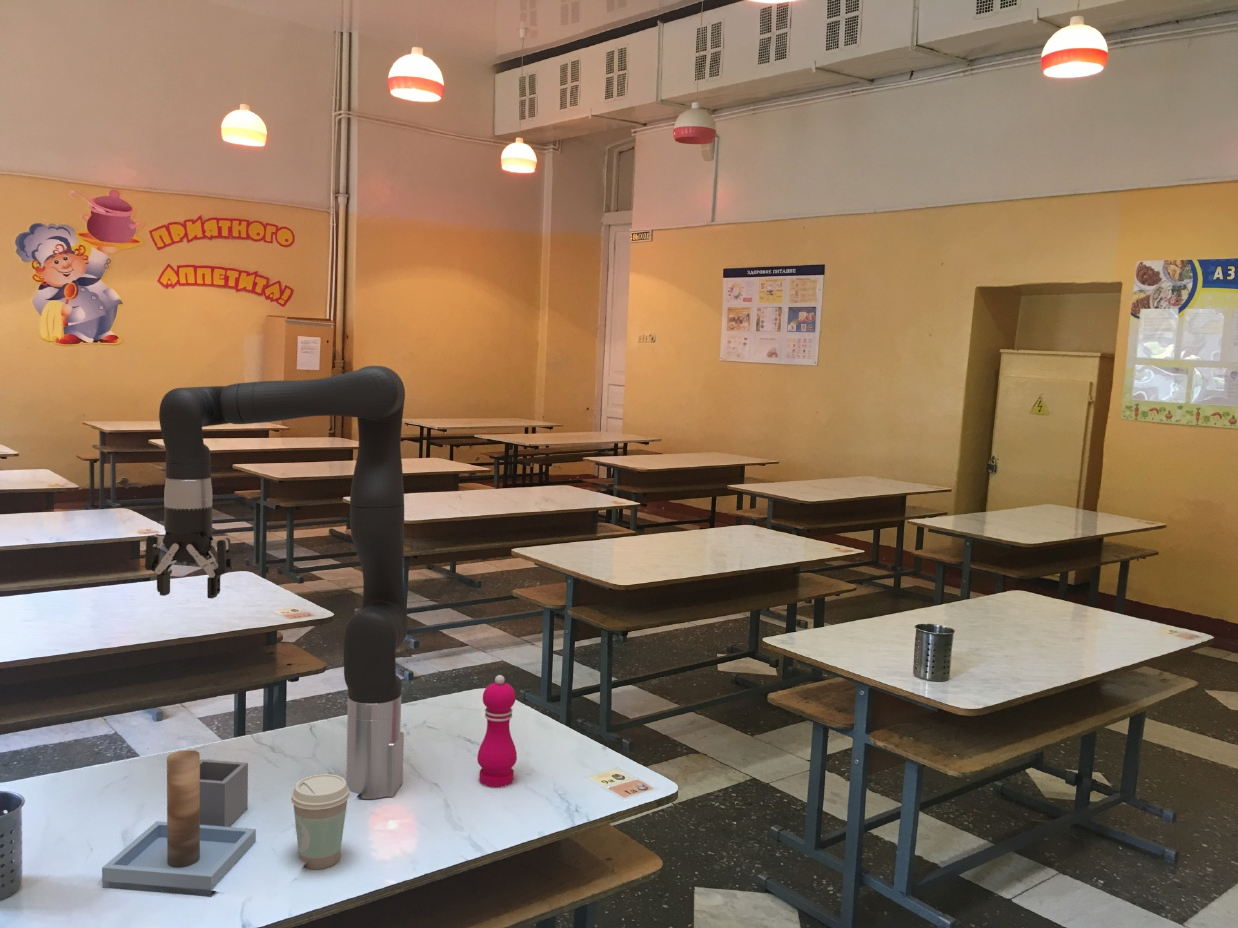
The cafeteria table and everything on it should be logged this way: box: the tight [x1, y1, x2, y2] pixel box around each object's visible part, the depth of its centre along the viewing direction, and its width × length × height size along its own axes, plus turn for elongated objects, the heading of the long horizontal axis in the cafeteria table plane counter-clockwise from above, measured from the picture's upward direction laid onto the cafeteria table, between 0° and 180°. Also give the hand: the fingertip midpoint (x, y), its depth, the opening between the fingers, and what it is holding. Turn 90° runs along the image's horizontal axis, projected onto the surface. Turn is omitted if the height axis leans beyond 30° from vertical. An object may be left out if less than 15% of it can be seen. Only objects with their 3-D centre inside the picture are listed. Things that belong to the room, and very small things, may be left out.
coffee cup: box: [290, 773, 351, 870], centre depth 145 cm, size 8×8×12 cm
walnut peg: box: [166, 749, 201, 868], centre depth 141 cm, size 4×4×16 cm
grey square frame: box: [200, 758, 249, 827], centre depth 154 cm, size 8×8×9 cm
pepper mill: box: [476, 674, 518, 788], centre depth 175 cm, size 7×7×20 cm
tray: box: [101, 820, 257, 898], centre depth 141 cm, size 16×14×3 cm
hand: (188, 596), depth 165 cm, fingers open, 8 cm apart
